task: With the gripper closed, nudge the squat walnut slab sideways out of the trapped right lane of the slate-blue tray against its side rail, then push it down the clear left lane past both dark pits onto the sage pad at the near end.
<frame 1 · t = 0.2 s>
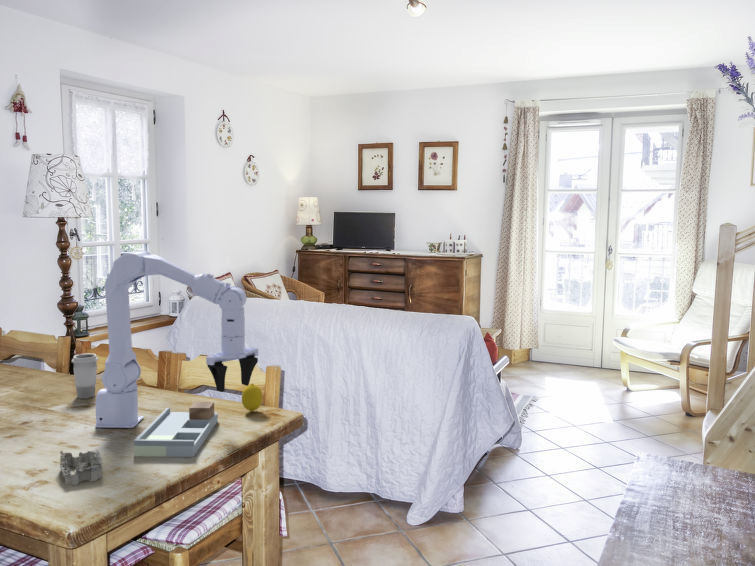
hand: (233, 387, 152), 10 cm above the table, fingers open, 7 cm apart
walnut block: (201, 416, 152), point 2 cm above the table, touching trap tray
grey toy castle: (82, 475, 124), on the table
cup: (86, 396, 174), on the table
lemon: (252, 412, 164), on the table
trap tray: (179, 437, 144), on the table
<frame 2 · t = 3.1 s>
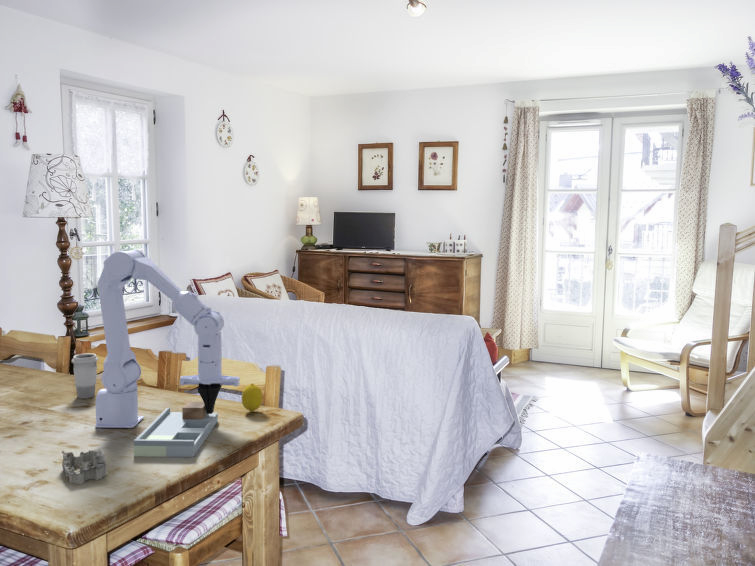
hand: (210, 412, 152), 3 cm above the table, fingers closed
walnut block: (195, 416, 152), point 2 cm above the table, touching gripper, trap tray
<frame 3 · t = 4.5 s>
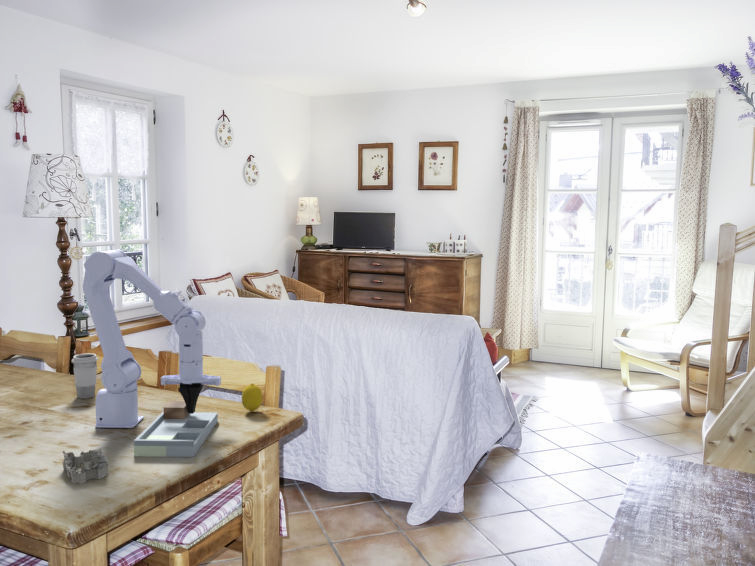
hand: (191, 412, 152), 3 cm above the table, fingers closed
walnut block: (176, 415, 152), point 2 cm above the table, touching gripper, trap tray
everything else where it was.
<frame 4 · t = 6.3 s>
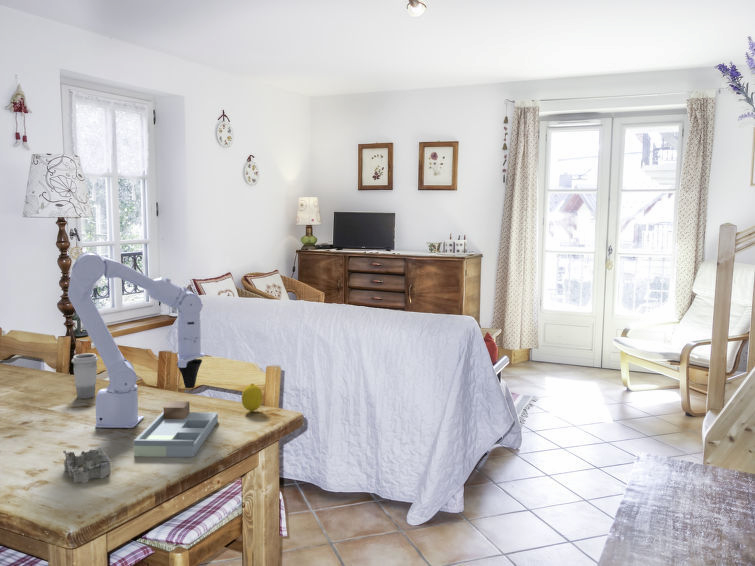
hand: (189, 387, 160), 7 cm above the table, fingers closed
walnut block: (176, 415, 152), point 2 cm above the table, touching trap tray
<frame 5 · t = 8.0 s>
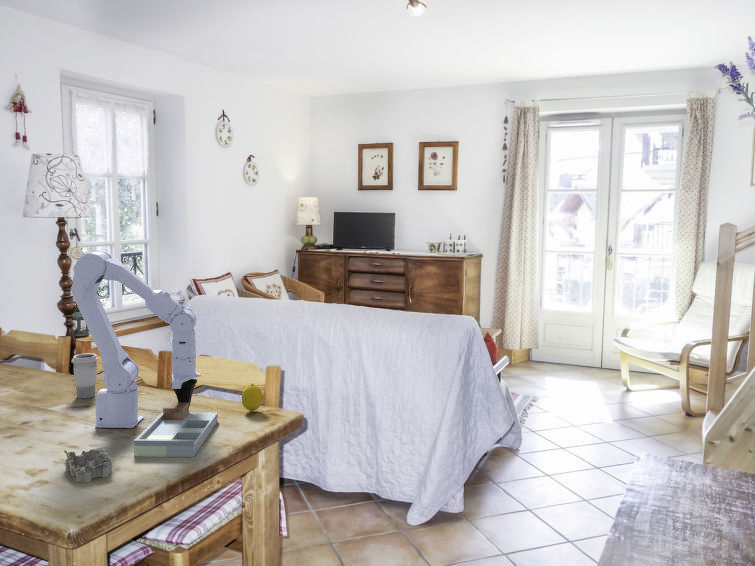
hand: (184, 408, 155), 3 cm above the table, fingers closed
walnut block: (176, 416, 152), point 2 cm above the table, touching gripper
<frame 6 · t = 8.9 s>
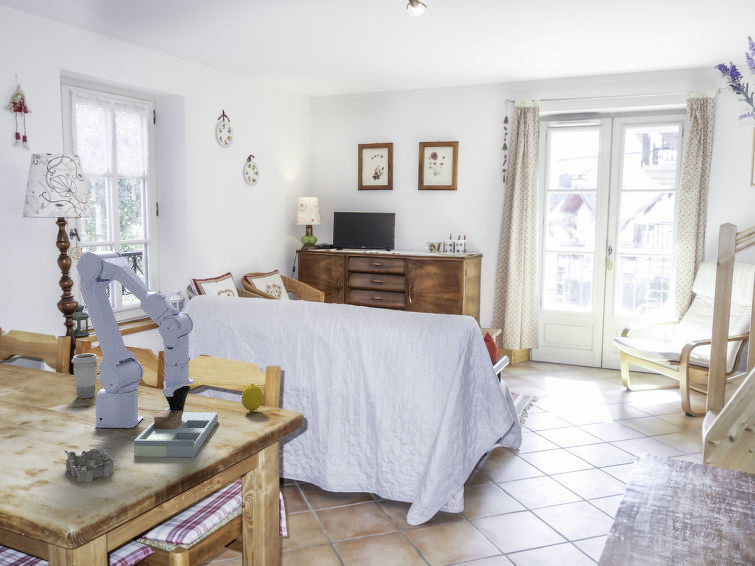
hand: (177, 416, 149), 3 cm above the table, fingers closed
walnut block: (168, 425, 145), point 2 cm above the table, touching gripper
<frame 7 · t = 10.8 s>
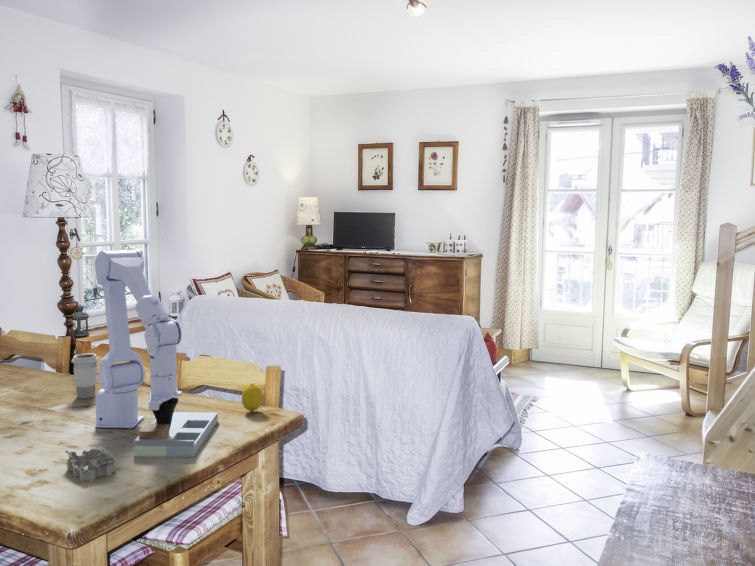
hand: (164, 430, 139), 3 cm above the table, fingers closed
walnut block: (154, 440, 136), point 2 cm above the table, touching gripper, trap tray
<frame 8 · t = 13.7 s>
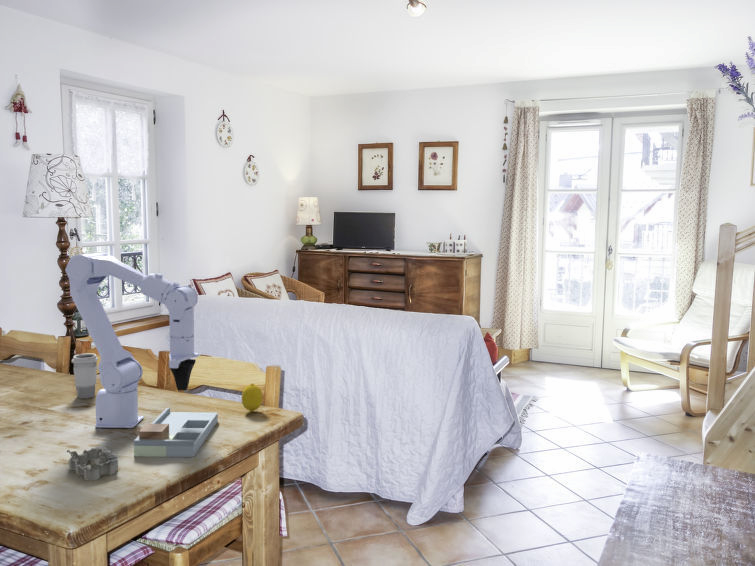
hand: (182, 389, 149), 10 cm above the table, fingers closed
walnut block: (154, 440, 136), point 2 cm above the table, touching trap tray
at the end: walnut block 1.3 cm from the target spot, point 2.4 cm above the table; walnut block tilted 0° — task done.
